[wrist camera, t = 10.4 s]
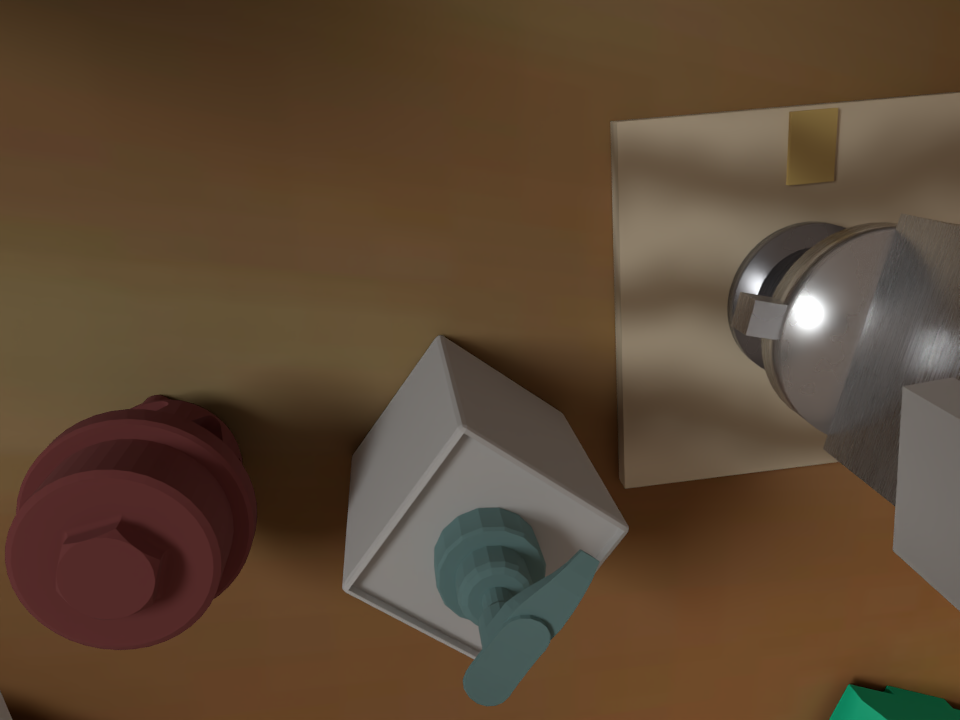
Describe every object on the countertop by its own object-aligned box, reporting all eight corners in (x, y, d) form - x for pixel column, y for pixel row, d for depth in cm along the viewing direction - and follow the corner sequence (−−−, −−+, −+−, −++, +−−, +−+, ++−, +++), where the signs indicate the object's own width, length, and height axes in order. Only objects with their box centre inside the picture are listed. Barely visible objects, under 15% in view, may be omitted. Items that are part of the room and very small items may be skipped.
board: (610, 121, 41) (618, 122, 39) (982, 89, 43) (1003, 89, 41) (619, 479, 47) (626, 491, 46) (942, 438, 49) (959, 449, 47)
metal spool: (728, 229, 42) (778, 248, 37) (882, 214, 43) (952, 230, 38) (725, 381, 45) (771, 418, 39) (870, 364, 45) (933, 399, 40)
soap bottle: (566, 411, 45) (691, 618, 27) (476, 530, 47) (537, 799, 29) (440, 329, 43) (485, 496, 25) (349, 457, 45) (331, 700, 27)
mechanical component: (93, 342, 41) (291, 383, 43) (69, 514, 44) (256, 546, 46) (-20, 439, 29) (258, 489, 31) (-43, 666, 32) (214, 700, 34)
